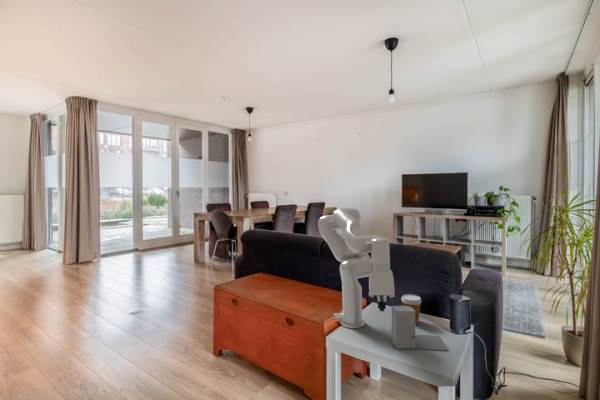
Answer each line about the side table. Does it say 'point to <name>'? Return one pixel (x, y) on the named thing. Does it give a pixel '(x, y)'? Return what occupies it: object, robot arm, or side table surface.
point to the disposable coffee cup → (412, 304)
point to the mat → (430, 343)
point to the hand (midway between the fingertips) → (381, 310)
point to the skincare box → (403, 327)
